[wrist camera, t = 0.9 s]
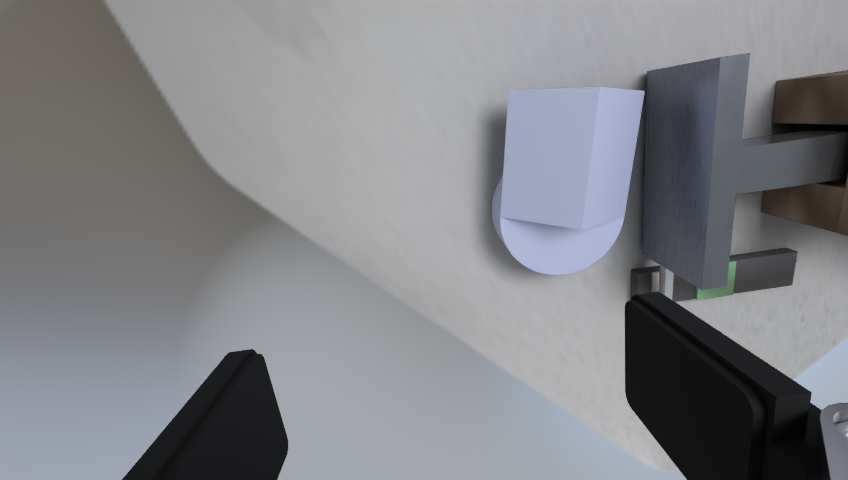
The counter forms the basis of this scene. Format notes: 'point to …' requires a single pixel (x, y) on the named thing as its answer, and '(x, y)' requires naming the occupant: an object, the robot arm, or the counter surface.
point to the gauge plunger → (714, 166)
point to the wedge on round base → (565, 174)
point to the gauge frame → (780, 197)
